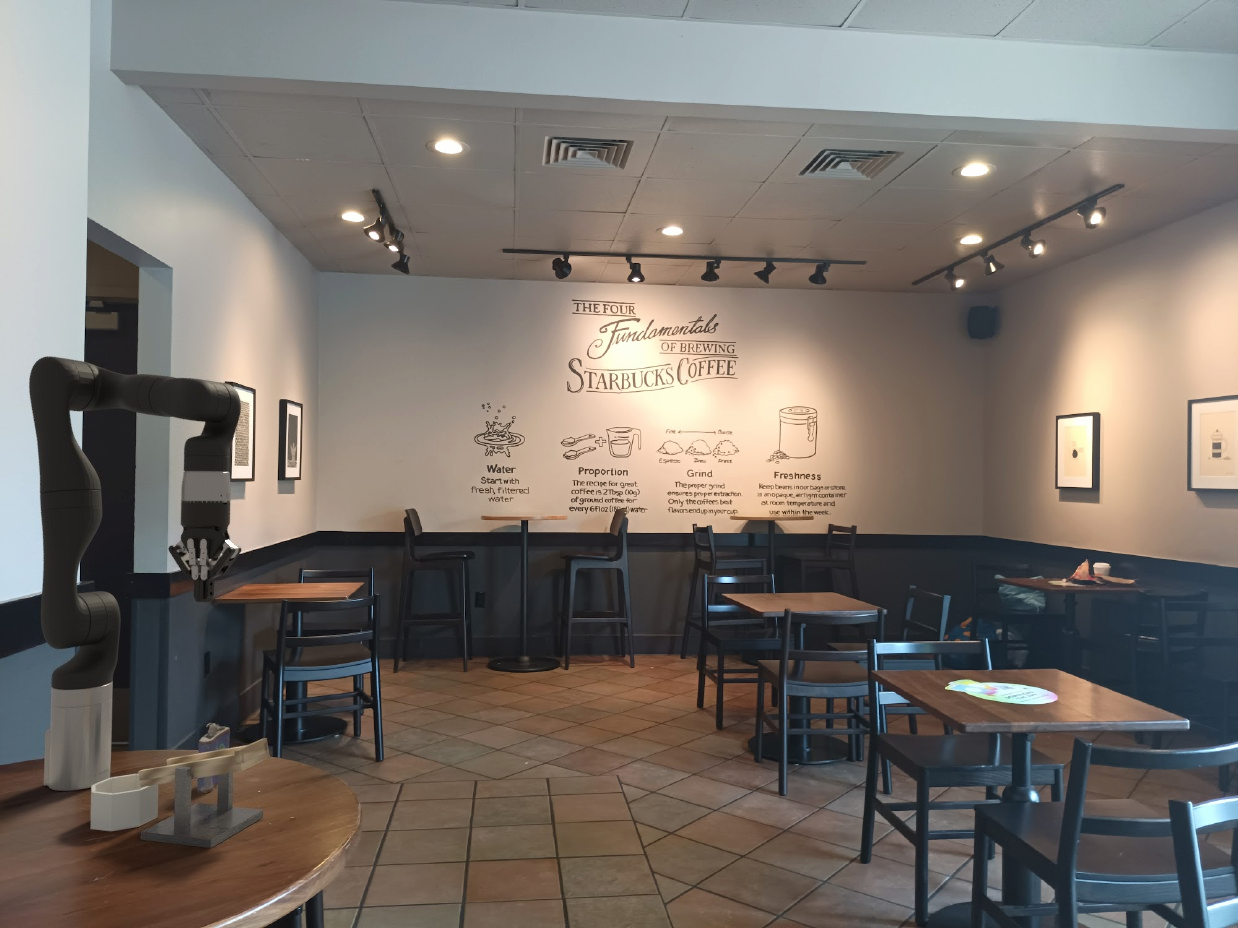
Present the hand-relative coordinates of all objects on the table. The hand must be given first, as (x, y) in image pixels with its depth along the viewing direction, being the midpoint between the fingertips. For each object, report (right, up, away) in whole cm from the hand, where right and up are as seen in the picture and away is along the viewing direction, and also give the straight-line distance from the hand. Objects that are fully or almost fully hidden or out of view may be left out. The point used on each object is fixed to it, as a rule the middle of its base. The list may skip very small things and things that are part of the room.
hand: (203, 601), depth 145 cm
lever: (+7, -24, -10) cm, 27 cm away
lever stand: (+6, -33, -13) cm, 36 cm away
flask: (-2, -34, +6) cm, 34 cm away
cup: (-8, -33, -9) cm, 35 cm away
